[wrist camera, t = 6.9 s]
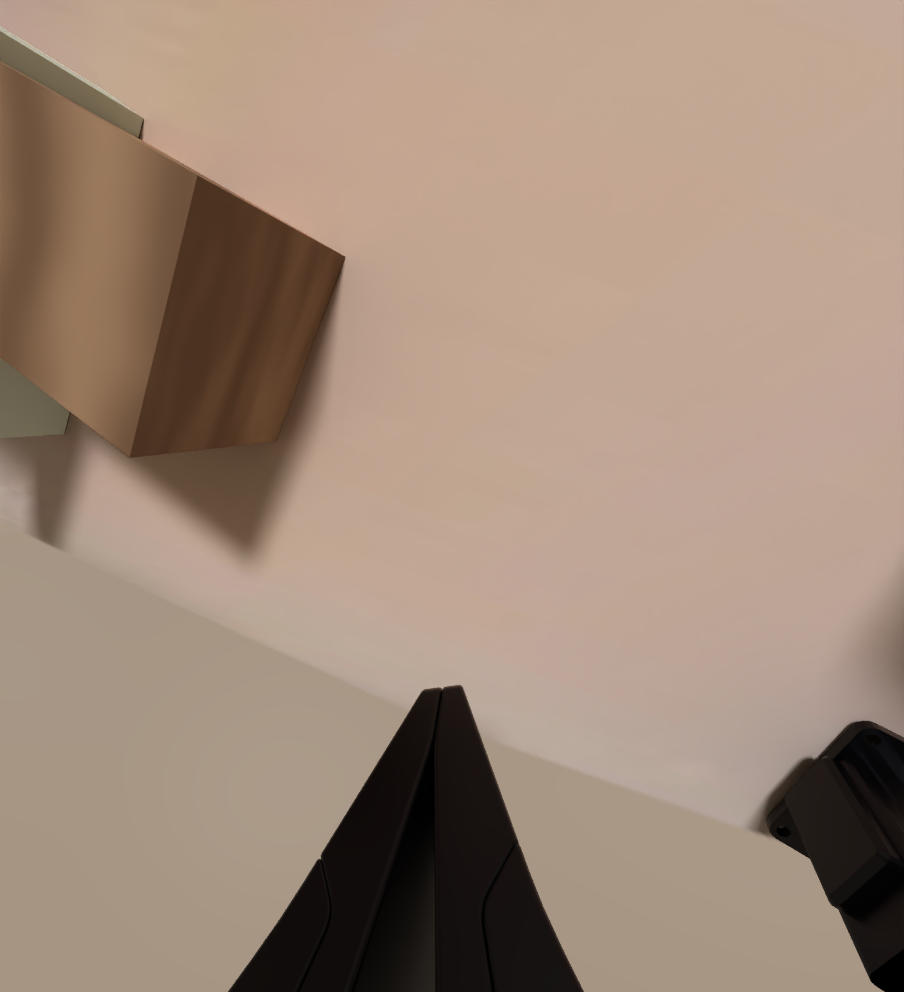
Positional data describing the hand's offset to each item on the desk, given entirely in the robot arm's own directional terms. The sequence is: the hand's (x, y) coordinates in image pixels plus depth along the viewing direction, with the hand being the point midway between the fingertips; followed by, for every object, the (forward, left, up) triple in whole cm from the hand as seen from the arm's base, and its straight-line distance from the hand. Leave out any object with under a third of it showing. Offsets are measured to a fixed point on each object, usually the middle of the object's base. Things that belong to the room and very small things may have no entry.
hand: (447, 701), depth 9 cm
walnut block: (+21, -4, -12) cm, 24 cm away
